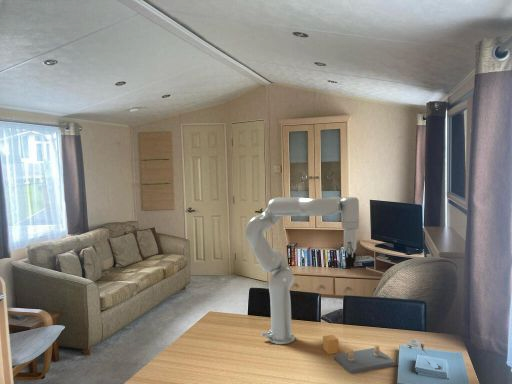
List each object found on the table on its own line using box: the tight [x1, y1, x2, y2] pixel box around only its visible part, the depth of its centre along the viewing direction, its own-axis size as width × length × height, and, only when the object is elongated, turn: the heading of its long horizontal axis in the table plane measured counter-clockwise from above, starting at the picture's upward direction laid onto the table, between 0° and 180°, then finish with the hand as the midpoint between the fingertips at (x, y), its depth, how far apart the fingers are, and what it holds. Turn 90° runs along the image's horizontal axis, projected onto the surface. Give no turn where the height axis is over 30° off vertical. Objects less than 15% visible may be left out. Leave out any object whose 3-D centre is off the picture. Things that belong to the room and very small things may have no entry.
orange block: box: [322, 334, 340, 355], centre depth 178 cm, size 5×5×6 cm
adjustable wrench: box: [406, 338, 423, 349], centre depth 172 cm, size 25×6×2 cm, turn 177°
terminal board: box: [333, 344, 397, 374], centre depth 167 cm, size 20×14×6 cm
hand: (351, 263), depth 180 cm, fingers open, 9 cm apart
